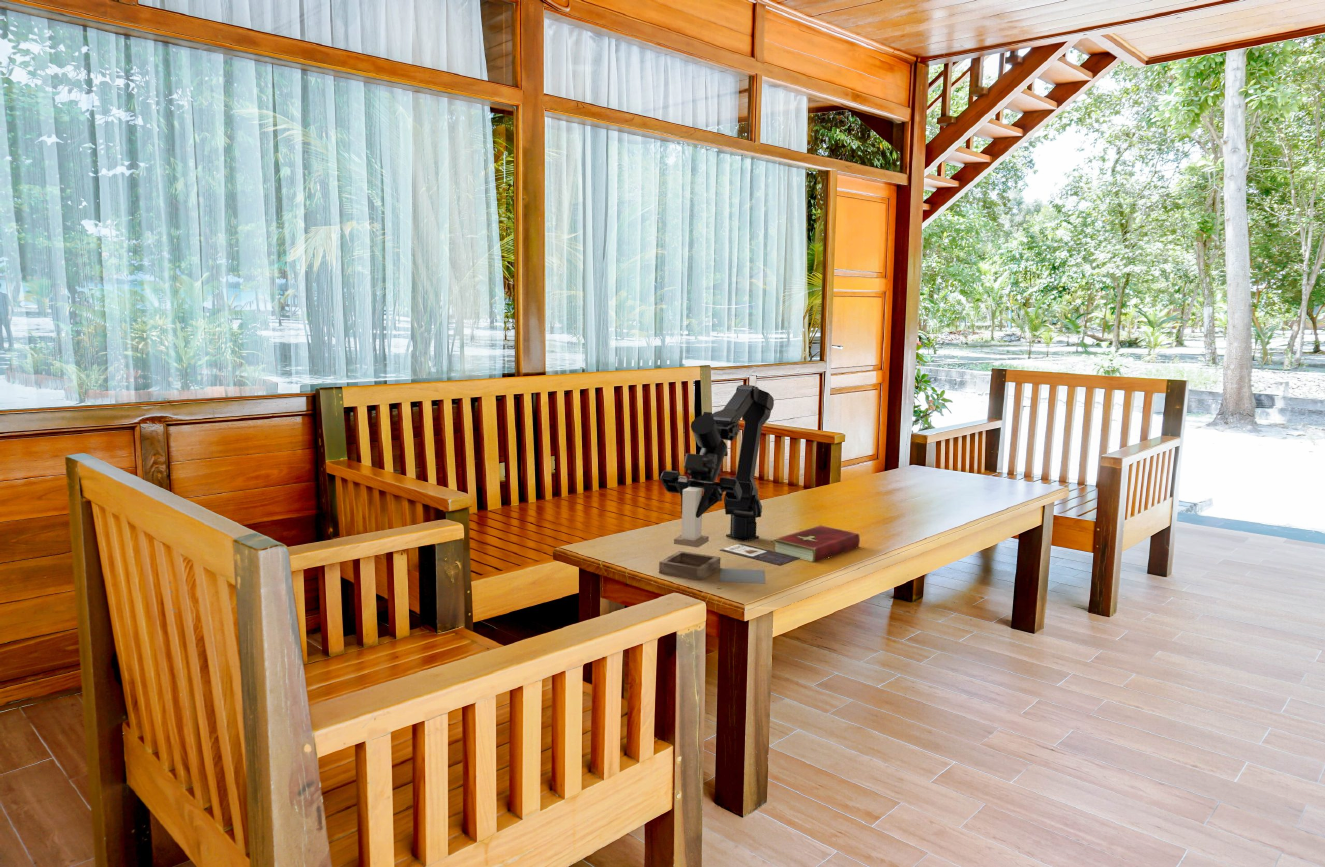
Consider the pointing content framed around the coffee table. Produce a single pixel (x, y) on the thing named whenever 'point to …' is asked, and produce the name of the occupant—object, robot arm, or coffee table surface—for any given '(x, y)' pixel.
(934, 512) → the coffee table surface
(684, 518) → the grey tall square post
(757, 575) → the mat
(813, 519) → the coffee table surface
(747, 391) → the robot arm
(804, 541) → the hardcover book
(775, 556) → the chocolate bar
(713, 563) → the brown square tray
